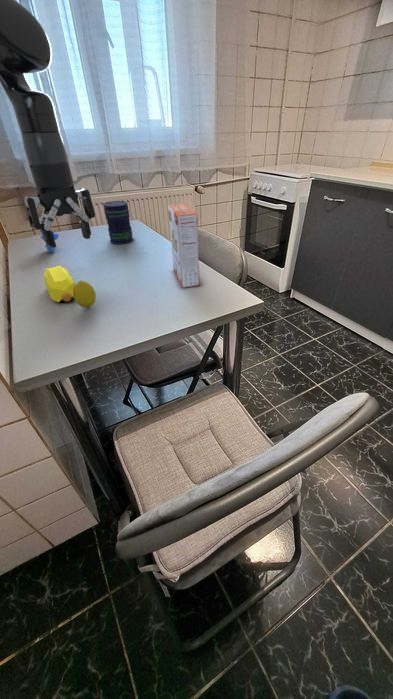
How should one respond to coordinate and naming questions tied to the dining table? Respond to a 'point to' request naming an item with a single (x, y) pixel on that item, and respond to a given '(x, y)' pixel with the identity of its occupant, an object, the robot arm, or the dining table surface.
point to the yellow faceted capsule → (59, 283)
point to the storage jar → (118, 222)
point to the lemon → (84, 294)
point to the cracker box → (184, 244)
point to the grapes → (54, 239)
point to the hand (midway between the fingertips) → (70, 242)
